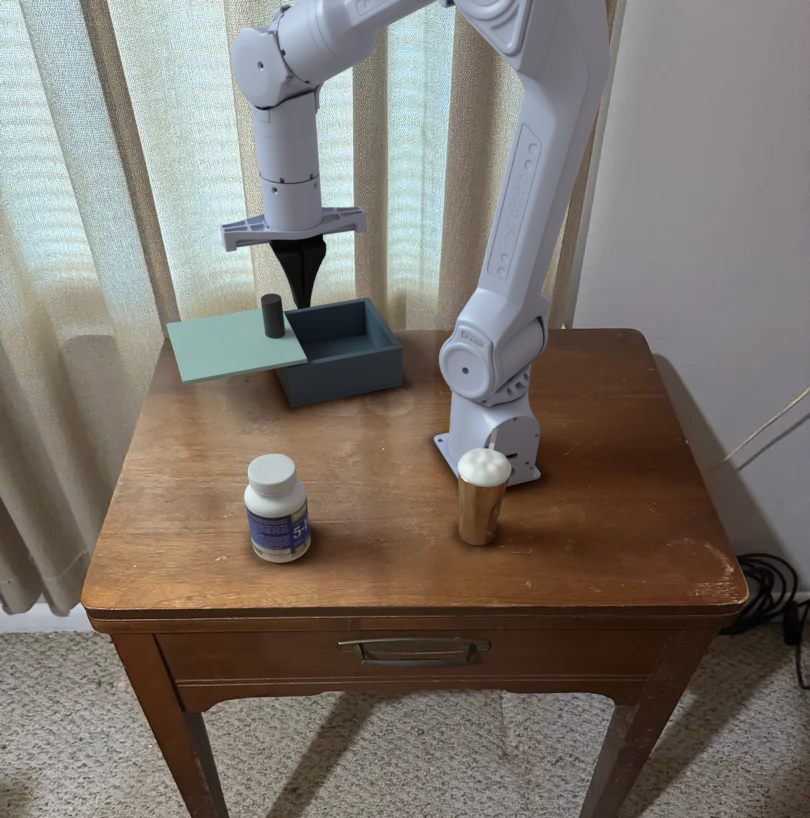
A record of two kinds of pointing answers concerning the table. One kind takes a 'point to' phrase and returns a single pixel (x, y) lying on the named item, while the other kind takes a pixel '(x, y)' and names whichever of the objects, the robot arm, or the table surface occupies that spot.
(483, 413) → the robot arm
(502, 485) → the milkshake
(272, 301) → the sliding lid
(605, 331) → the table surface
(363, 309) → the case
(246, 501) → the pill bottle
